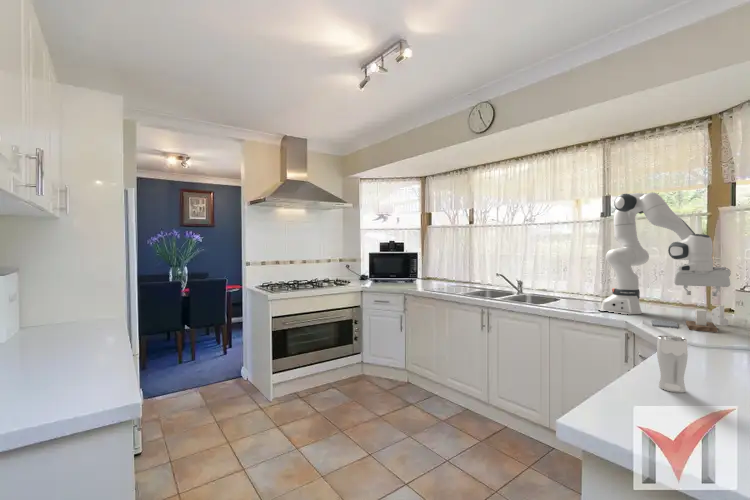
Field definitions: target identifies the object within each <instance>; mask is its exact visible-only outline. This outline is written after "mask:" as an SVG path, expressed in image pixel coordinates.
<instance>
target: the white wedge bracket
mask: <svg viewBox="0 0 750 500" xmlns="http://www.w3.org/2000/svg"><path fill="white" fill-rule="evenodd" d="M711 322H712V323H713V324H714V325H716V326H717V325H718V326H730V324H729V323H730V320H729V318H725V305H718V306H717V307H715V308H713V309H711Z"/></svg>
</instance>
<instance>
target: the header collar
mask: <svg viewBox="0 0 750 500" xmlns="http://www.w3.org/2000/svg"><path fill="white" fill-rule="evenodd" d="M685 325H686V327H687V328H688V330H690V331H697V332H698V331H699V332H709V333H710V332H711V333H718V327H717V325H716V324H714V323H712V321H710V322H709V321H707V326H705V325H695V320H688V319H687V320H685Z"/></svg>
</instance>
